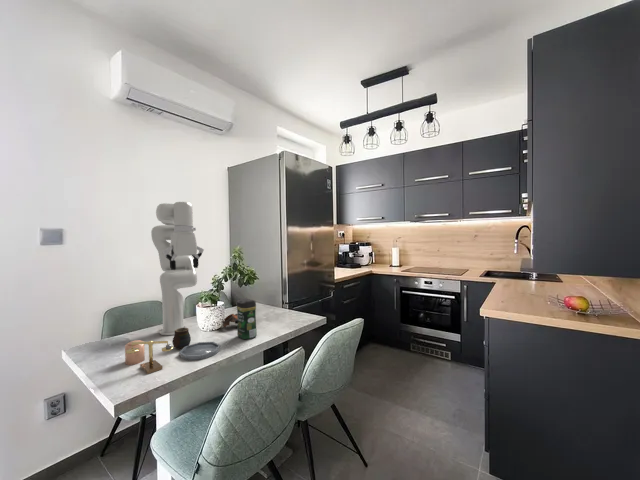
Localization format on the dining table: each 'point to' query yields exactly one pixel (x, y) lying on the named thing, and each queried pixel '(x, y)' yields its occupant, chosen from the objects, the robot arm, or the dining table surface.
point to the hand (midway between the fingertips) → (184, 268)
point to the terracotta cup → (135, 357)
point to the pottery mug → (230, 320)
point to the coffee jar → (246, 318)
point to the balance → (150, 356)
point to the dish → (199, 350)
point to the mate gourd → (181, 338)
